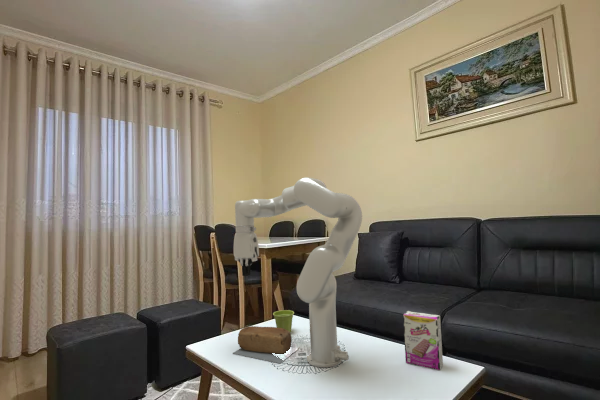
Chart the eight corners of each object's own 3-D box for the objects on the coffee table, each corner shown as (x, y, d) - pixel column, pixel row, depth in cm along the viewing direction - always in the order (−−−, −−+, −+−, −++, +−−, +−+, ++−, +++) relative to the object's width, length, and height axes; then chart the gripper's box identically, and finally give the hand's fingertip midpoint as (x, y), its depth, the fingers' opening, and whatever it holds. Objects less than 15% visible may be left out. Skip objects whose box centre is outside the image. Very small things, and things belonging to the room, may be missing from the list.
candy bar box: (405, 363, 109) (402, 314, 110) (409, 358, 113) (406, 310, 114) (440, 371, 103) (437, 318, 104) (443, 365, 107) (440, 314, 108)
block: (236, 350, 125) (283, 357, 119) (236, 330, 126) (283, 335, 119) (249, 341, 136) (294, 346, 129) (249, 322, 136) (294, 327, 129)
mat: (299, 348, 126) (299, 348, 126) (280, 363, 113) (280, 363, 113) (254, 340, 136) (254, 340, 136) (232, 353, 124) (232, 353, 124)
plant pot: (272, 330, 148) (272, 311, 148) (293, 328, 150) (292, 309, 150) (274, 337, 139) (274, 317, 139) (296, 335, 140) (295, 314, 141)
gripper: (265, 229, 133) (266, 274, 132) (236, 230, 140) (237, 273, 139) (254, 230, 127) (256, 278, 126) (224, 231, 134) (226, 276, 133)
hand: (246, 275), depth 133 cm, fingers closed
